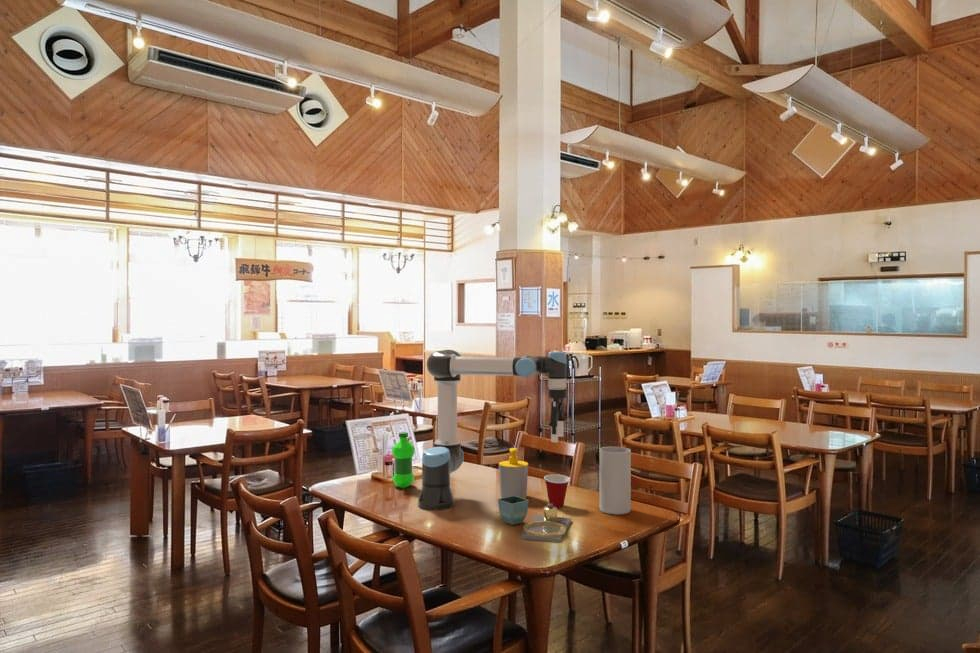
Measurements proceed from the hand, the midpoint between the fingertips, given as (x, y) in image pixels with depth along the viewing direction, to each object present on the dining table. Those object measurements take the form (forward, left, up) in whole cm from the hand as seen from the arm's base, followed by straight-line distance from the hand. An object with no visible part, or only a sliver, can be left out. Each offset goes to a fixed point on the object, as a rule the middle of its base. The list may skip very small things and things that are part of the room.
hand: (557, 439), depth 269 cm
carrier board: (+2, -32, -28) cm, 42 cm away
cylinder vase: (+24, 0, -28) cm, 37 cm away
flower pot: (-12, -27, -28) cm, 41 cm away
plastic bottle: (-75, +12, -28) cm, 81 cm away
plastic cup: (0, 0, -28) cm, 28 cm away
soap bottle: (-21, +9, -28) cm, 36 cm away
